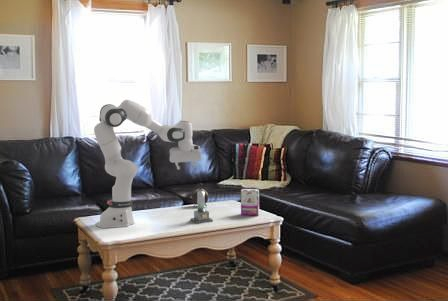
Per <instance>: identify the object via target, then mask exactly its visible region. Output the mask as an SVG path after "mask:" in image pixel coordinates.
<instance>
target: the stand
mask: <svg viewBox="0 0 448 301" xmlns="http://www.w3.org/2000/svg"><path fill="white" fill-rule="evenodd" d="M190 221H191V222H192V223H194V224H203V223H204V224H206V223H210V222H214V219H213V218H210V211H209V210H206V209H205V212H198V209H196V210H194V211H193V217H192V218H191V217H190Z"/></svg>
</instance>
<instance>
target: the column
mask: <svg viewBox="0 0 448 301" xmlns="http://www.w3.org/2000/svg"><path fill="white" fill-rule="evenodd" d="M197 201H198V205H197V210H198V212H205V210H206V205H205V204H206V203H205V192H204V191H198V192H197Z"/></svg>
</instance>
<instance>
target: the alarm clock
mask: <svg viewBox="0 0 448 301" xmlns="http://www.w3.org/2000/svg"><path fill="white" fill-rule="evenodd" d="M199 184H200V185H201V186H200V187H199ZM197 186H198V189H195V190H194V192H193V193H192V195H191V199H192V202H193V203H194V204H193V206H194V207H195V206H196V205H197V206H198V201H197V192H198V191H204V192H205V207H207V206H208V205H207V202H208V200H209V199H210V198H209V193H208V192H207V190H205V189H204V188H203V186H204V185H203V184H202V183H201V182H200V183H198V184H197Z"/></svg>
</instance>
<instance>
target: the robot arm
mask: <svg viewBox="0 0 448 301" xmlns="http://www.w3.org/2000/svg"><path fill="white" fill-rule="evenodd" d="M126 120H128V121H130V122H132V123H134V124H136V125H138V126H140V127H144V128H146V129H148V130H150V131H152V132H153V133H155V135H157V137H158V138H159V140H161V141H162V142H166V143H167V142H169V143H177V144H178V147H177V146H176V147H171V148H170V149H169V162H170V163H172V164H173V163H175V166H176V170H177V171H178V170H181V166H180V165H179V163H189V162H192V165H190V168H191V170H194V169H195V166H196V164H197V162H201V161H202V151H201V150H200V149H201V146H200V145H196V144H193V142H194V141H193V135H194V134H193V125H192V123H191V122H190V121H186V120H179V121H178V122H177V123H176V124H174V125H166V124H165V125H164V124H162V123H159V122H158V121H156V120H154V119H153V118H152V113H151V111H149V109H147V108H146V107H145V106H143V105H142V104H139V103H137V102H135V101H133V100H131V99H125V100H123V101H121V103H120V104H119V105H118V106H115V105H114V104H110V103H107V104H105V105H103V106H102V107H101V108H100V111H99V123H97V124H96V125H95V126H94V127H93V133H94V135H95V138H96V141H97V144H98V146H99V147H100V150H101V152H102V154H103V157H104V162H105V163H104V164H105V165H104V170H105V172H106V173H107V174H109V175H110V176H113V177H115V183H114V185H113V186H112V187H111V188H112V189H111V192H112V193H111V194H112V199H111V200H107V202H106V203H107V204H108V206H109V207H107V209H106V210H104V211H102V213H100V217H99V220H98V221H96V224H95V225H96V226H97V227H98V228H100V229H109V228H124V227H125V228H127V227H129V226H130V225H134V223H135V219H134V216H133V199H132V184H133V179H134V178H135V177H136V175H137V173H138V166H137V164H136V163H135V162H133V161H132V160H129V159H124V158H123V157H122V153H121V152H122V145H121V143H120V141H119V139H118V138H117V137H118V136H117V135H116V133H115V129H114V128H117V127H119V126H121V125H122V124H123V123H124V122H125V121H126Z"/></svg>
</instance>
